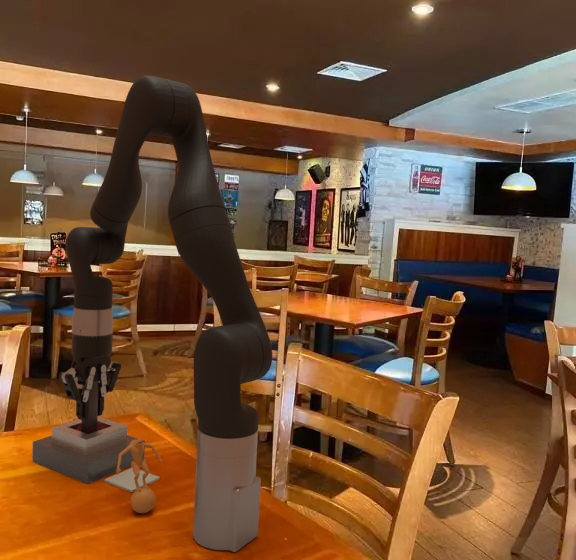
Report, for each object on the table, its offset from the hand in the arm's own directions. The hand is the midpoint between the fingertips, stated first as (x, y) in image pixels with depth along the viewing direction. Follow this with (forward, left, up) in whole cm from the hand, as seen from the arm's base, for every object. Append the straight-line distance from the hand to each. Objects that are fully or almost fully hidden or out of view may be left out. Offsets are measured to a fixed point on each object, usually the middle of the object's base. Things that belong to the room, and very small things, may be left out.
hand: (90, 416), depth 116 cm
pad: (-13, +1, -9) cm, 16 cm away
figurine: (-22, +8, -9) cm, 25 cm away
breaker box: (0, 0, -9) cm, 9 cm away
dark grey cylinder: (0, 0, -4) cm, 4 cm away
